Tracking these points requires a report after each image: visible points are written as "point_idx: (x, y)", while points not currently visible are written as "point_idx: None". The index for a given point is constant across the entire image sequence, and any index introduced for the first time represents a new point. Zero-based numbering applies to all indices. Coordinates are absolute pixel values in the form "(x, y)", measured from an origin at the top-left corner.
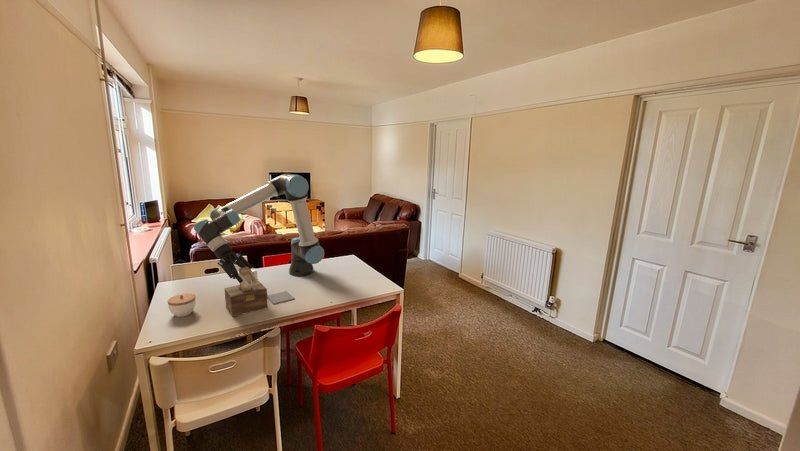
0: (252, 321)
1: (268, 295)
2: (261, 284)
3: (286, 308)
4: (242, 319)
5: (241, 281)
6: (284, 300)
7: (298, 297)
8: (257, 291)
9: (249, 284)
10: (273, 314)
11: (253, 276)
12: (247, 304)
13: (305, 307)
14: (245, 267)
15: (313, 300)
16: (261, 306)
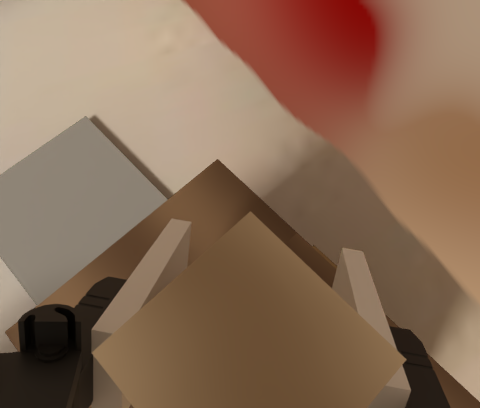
0: (414, 237)
1: (36, 300)
2: (114, 252)
3: (218, 122)
4: (412, 312)
5: (408, 335)
6: (123, 160)
7: (61, 109)
8: (280, 219)
9: (344, 248)
10: (304, 160)
11: (171, 261)
12: None
13: (193, 41)
14: (133, 392)
15: (103, 29)
16: None
